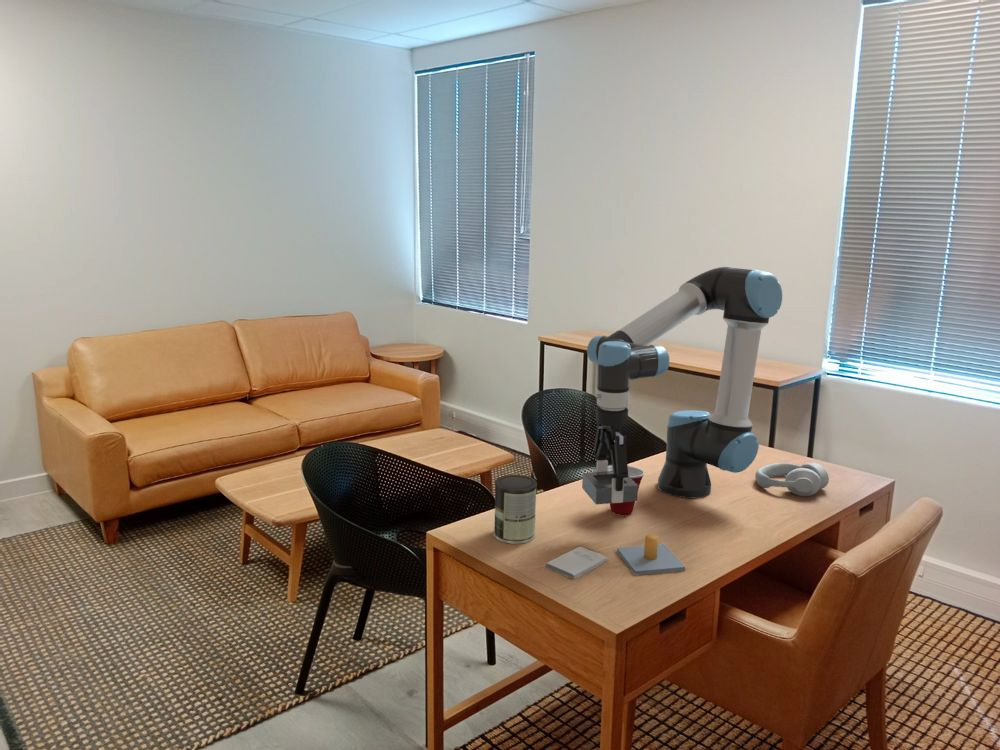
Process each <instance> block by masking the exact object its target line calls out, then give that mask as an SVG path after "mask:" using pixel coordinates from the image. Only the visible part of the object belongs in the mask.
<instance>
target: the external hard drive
mask: <svg viewBox="0 0 1000 750" xmlns="http://www.w3.org/2000/svg"><path fill="white" fill-rule="evenodd" d="M607 560H608V558H607V557H606V556H605V555H602V554H601V553H597V552H595V551H592V550H590V549H588V548H585V547H583V546H578V547H576V548H574V549H572V550H569V551H567V552H565V553H564V554H562V555H560V556H558V557H556V558H554V559H551V560H550V561H547V562H545V568H547V569H549V570H551V571H554V572H556V573H558V574H561V575H563V576H566V577H568V578H570V579H572V580H576V579H577V578H579V577H581V576H583V575H584V574H586V573H588V572H590V571H592V570H594V569H595V568H597V567H599V566H601V565H603V564H604V563H606V562H607Z"/></svg>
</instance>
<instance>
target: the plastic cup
mask: <svg viewBox="0 0 1000 750" xmlns="http://www.w3.org/2000/svg"><path fill="white" fill-rule="evenodd" d="M608 471H613V467H612V464H611V465H610V464H609V465H608ZM645 474H646V472H645V471H644V470H643V469H641V468H638V467H635V466H630V465H628V476H629V477H630V478H631V479H632V480H633V481H634V482H635V483H636V484H637V485H638V490H639V489H640V484H641V481H642V478H643V477H644V476H645ZM635 505H636V501H631V502H621V503H609V507H610V511H611V513H612V514H614V515H616V516H625V517H626V516H630V515H632V514H633V512H634V508H635Z"/></svg>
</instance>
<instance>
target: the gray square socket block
mask: <svg viewBox="0 0 1000 750" xmlns="http://www.w3.org/2000/svg"><path fill="white" fill-rule="evenodd" d="M612 475H614V473H613V471H605V472H596V471H594V472H582V488H581V489H582V490H583V491H584V492H585V493H586V495H587V496H588V497H589V498H590V499H591V500H592V502H593V503H594V504H595V505H605V504H610V503H612V502H611V493H612V478H611V476H612ZM638 495H639V489H638V485H637V484H636V483H635V482H634V481H633V480H632V479H631V478H630V477H629V476H628V478H624V490H623V502H631V501H635V502H638V497H639V496H638Z"/></svg>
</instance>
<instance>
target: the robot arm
mask: <svg viewBox="0 0 1000 750" xmlns="http://www.w3.org/2000/svg"><path fill="white" fill-rule="evenodd" d="M782 302H783V289H782V285H781V283H780V282H779V280H778V278H777V276H776V275H774V274H773V273H771V272H768V271H763V270H759V269H750V268H749V269H747V268H746V269H745V268H737V267H729V266H722V267H716V268H713V269H710V270H709V269H708V270H707V271H704V272H702V273H700V274H698V275H696V276H694V277H692V278H691V279H689V280H687V281H686V282H684V283H682V284H681V285H680V286H679V288H678V291H677V292H676V293H674V294H672V295H670V296H669V297H668V298H666V299H665V300H662V302H660V303H658V304H657V305H655V306H654V307H652V308H650V309H648V311H646V312H644V313H643V314H641V315H640V316H638V317H637V318H635V319H634V320H632V321H630V322H629V323H627V324H626V325H625V326H623V327H621V328H620V329H619V330H616V331H615V332H613V333H612V334H610V335H608V336H606V335H596V336H594V337H592V338H591V340H589V343H587V344H588V345H587V348H586V352H587V353H586V354H587V357H588V359H589V360H590V361H591V362H592V363H594V364H595V365H597V379H596V380H597V382H596V383H597V385H596V387H597V390H596V393H595V396H594V397H595V398H596V405H597V407H596V412H595V413H596V414H595V420H596V422H597V423H596V424H597V425H596V427H597V428H596V434H595V439H594V447H593V454H594V455H595V459H596V471H595V472H605V471H608V466H609V460H607V459H610V458H611V465H612V467H613V473H614V475H612V476H611V478H612V493H611V502H612V503H621V502H623V490H624V478H628V466H629V465H628V454H627V453H628V452H627V451H628V450H627V435H625V434H623V433H622V429H621V427H623V426H625V425H627V423H629V422H628V421H629V409H628V407H629V402H630V382H631V381H633V380H634V381H635V380H639V379H646V378H654V377H657V376H659V375H660V376H661V375H663V374H664V373H666V371H667V370H669V367H670V356H669V355H670V354H669V353H668V351H667V348H665V347H664V346H662V345H661V344H651V343H653V342H655V341H656V340H658V339H659V338H661V337H662V336H664V335H665V334H667V333H668V332H670V331H672V330H673V329H674V328H676V327H678V326H679V325H680V324H682V323H683V322H685V321H687V320H688V319H690V318H691V317H693V316H700V315H702V314H704V313H706V312H707V311H711V310H721V311H723V316H722V319H723V321H724V322H725V323H726V325H727V328H726V334H725V342H724V349H723V355H722V360H721V361H722V362H721V363H722V364H721V370H720V376H719V382H718V390H717V397H716V402H715V409H714V413H712V414H711V413H710V412H708V411H705V410H694V409H693V410H691V409H690V410H689V409H688V410H679V411H675V412H673V413H671V414H670V415H669V417H668V423H667V427H666V428H667V430H666V432H667V433H666V449H665V462H664V464H663V466H662V468H661V471H660V473H659V476H658V477H657V488H658V489H659V490H660V491H661V492H663V493H665V494H668V495H669V496H674V497H677V498H686V499H690V498H691V499H693V498H694V499H696V498H702V497H706V496H708V495H710V494H711V491H712V481H711V478H710V473H709V469H708V465H709V466H713V467H714V468H718V469H719V470H722V471H726V472H730V473H733V474H735V473H736V474H737V473H741V472H743V471H745V470H747V469H748V468H749V467H750V465H752V463H753V462H754V461H755V459H756V457H757V455H758V451H759V447H760V444H759V443H760V442H759V440H758V437H757V436H756V435H755V434H754V433H753V432H752V431H753V430H752V429H753V422H752V421H751V420H750V419H749V411H750V404H751V397H752V391H753V385H754V380H755V379H754V378H755V372H756V366H757V365H756V364H757V360H758V359H757V358H758V352H759V347H760V341H761V335H762V334H761V333H762V330H763V329H764V328H765V327H766V326H768V325H769V321H770V318H772V317H774V316H776V315H777V314H778V310H780V308H781V306H782V304H783V303H782ZM609 453H610V457H609Z"/></svg>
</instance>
